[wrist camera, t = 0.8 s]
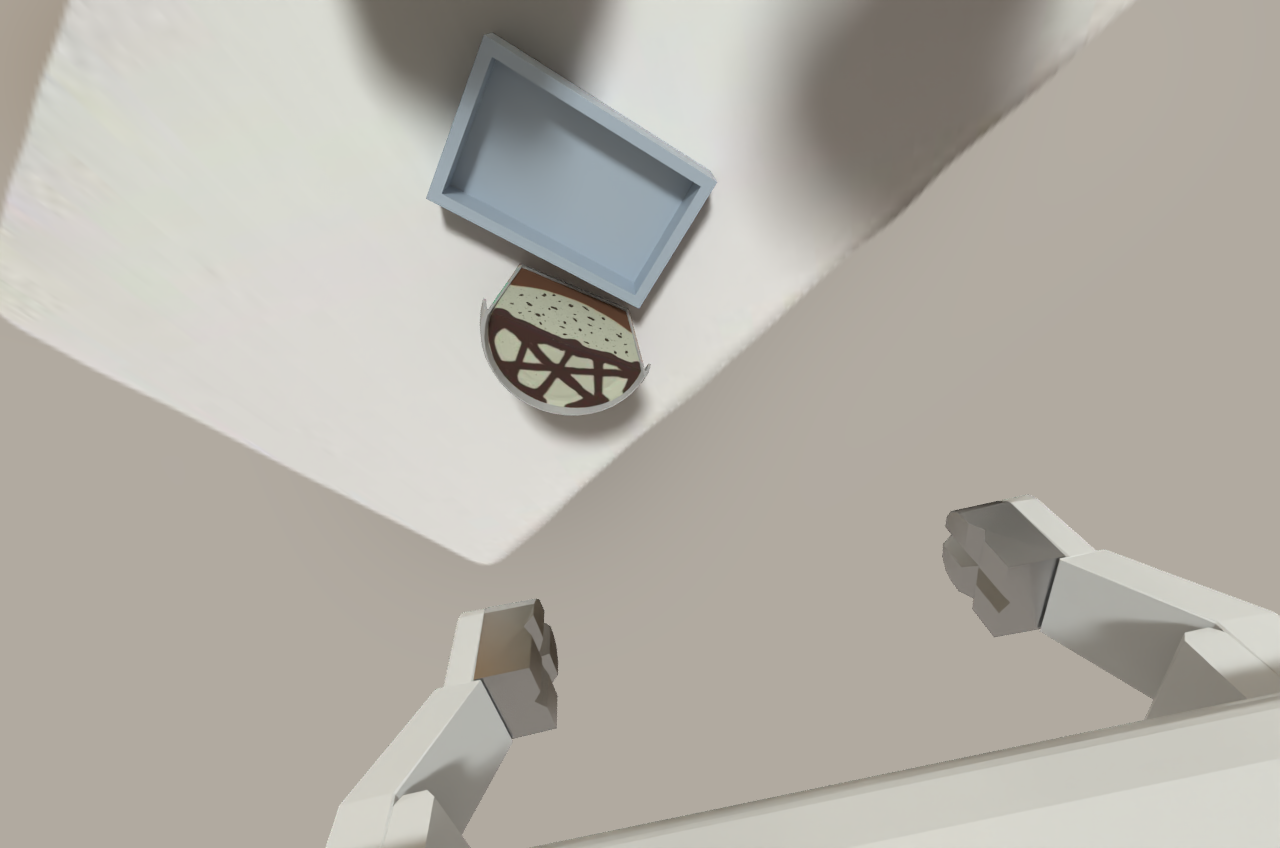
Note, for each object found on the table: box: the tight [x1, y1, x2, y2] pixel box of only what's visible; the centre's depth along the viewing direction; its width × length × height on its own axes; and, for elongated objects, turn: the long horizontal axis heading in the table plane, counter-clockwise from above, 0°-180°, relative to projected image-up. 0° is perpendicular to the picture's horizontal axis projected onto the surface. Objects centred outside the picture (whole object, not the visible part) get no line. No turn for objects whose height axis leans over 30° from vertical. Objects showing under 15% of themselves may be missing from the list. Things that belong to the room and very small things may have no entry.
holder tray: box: [426, 33, 717, 309], centre depth 40 cm, size 11×17×3 cm, turn 60°
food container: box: [480, 264, 651, 415], centre depth 44 cm, size 12×6×10 cm, turn 65°
